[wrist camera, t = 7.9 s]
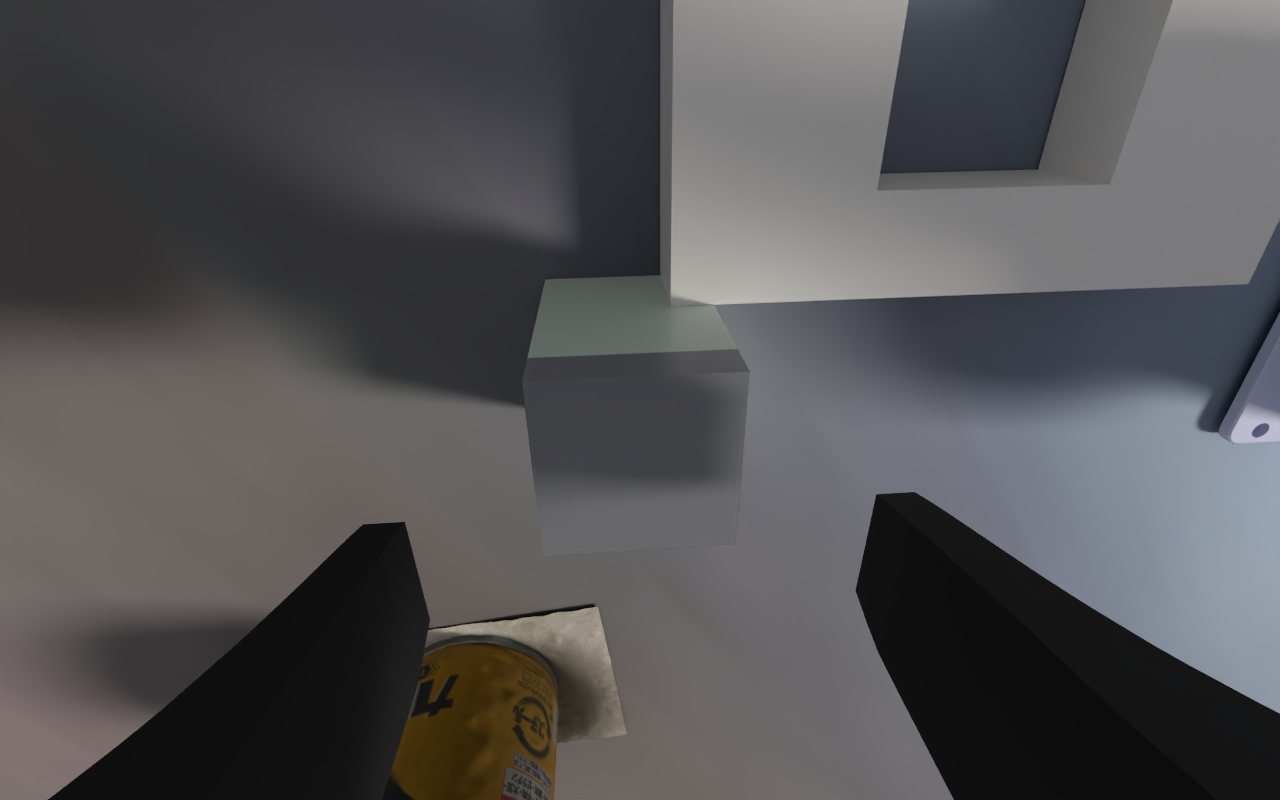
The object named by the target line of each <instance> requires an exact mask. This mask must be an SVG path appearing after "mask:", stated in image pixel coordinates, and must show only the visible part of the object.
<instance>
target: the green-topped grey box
mask: <svg viewBox="0 0 1280 800" xmlns="http://www.w3.org/2000/svg"><path fill="white" fill-rule="evenodd" d="M749 372H750V371H749V370H748V368H747V366H746V364H745V362H744V360H743V358H742V357H741V355H740V353H739V351H738V349H737V347H736V345H735V343H734V342H733V340H732V338H731V336H730V334H729V332H728V330H727V329H726V327H725V325H724V323H723V321H722V319H721V317H720V315H719V314H718V312H717V310H716V308H715V306H714V305H692V306H670V303H669V300H668V298H667V295H666V292H665V289H664V286H663V283H662V280H661V277H660V275H653V276H626V277H598V278H570V279H545V283H544V288H543V292H542V296H541V301H540V305H539V309H538V314H537V318H536V322H535V327H534V331H533V335H532V340H531V344H530V348H529V353H528V357H527V361H526V366H525V370H524V374H523V379H522V388H523V396H524V404H525V412H526V420H527V428H528V437H529V445H530V453H531V461H532V469H533V477H534V485H535V493H536V502H537V510H538V518H539V526H540V534H541V542H542V550H543V556H551V555H567V554H584V553H600V552H616V551H633V550H649V549H665V548H682V547H698V546H714V545H731V544H736V535H737V523H738V510H739V498H740V485H741V473H742V460H743V447H744V435H745V422H746V410H747V397H748V385H749Z"/></svg>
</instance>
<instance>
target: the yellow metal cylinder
mask: <svg viewBox="0 0 1280 800" xmlns="http://www.w3.org/2000/svg"><path fill="white" fill-rule="evenodd" d="M541 647H544V648H546V649H547V651H545V652H544V651H542V650H541ZM551 650H553V651H557V652H558V653H559V655H555V654H552V653H551V652H550V651H551ZM610 659H611V658H610V656H609V652H608V649H607V644H606V639H605V634H604V630H603V627H602V623H601V618H600V614H599V610H598V607H593V608H585V609H581V610H578V611H571V612H557V613H552V614H549V615H546V616H534V617H526V618H520V619H516V620H511V621H509V620H503V621H498V622H488V623H475V624H466V625H459V626H454V627H448V628H441V629H433V630H428V633H427V639H426V645H425V650H424V656H423V661H422V666H421V671H420V676H419V681H418V686H417V689H416V693H415V696H414V699H413V703H412V706H411V709H410V712H409V715H408V719H407V722H406V725H405V728H404V732H403V735H402V738H401V741H400V744H399V748H398V751H397V754H396V757H395V760H394V763H393V766H392V770H391V773H390V776H389V779H388V782H387V785H386V788H385V792H384V795H383V798H382V800H554V783H555V764H556V745H557V743H560V742H568V741H572V740H580V739H604V738H608V737H612V736H619V735H626V728H625V724H624V720H623V714H622V709H621V705H620V700H619V697H618V690H617V686H616V683H615V678H614V674H613V669H612V664H611V661H610Z"/></svg>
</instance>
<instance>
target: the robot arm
mask: <svg viewBox="0 0 1280 800" xmlns="http://www.w3.org/2000/svg"><path fill="white" fill-rule="evenodd" d="M1219 434H1220V436H1221V437H1222V438H1224V439H1226V440H1227V441H1229V442H1231V443H1235V444H1241V443H1260V442H1279V441H1280V312H1279V314H1278V316H1277V318H1276V320H1275V322H1274V324H1273V326H1272V328H1271V330H1270V331H1269V333H1268V335H1267V337H1266V339H1265V341H1264V343H1263V345H1262V347H1261V349H1260V351H1259V353H1258V354H1257V356H1256V358H1255V360H1254V362H1253V364H1252V366H1251V368H1250V370H1249V372H1248V374H1247V376H1246V378H1245V379H1244V381H1243V383H1242V385H1241V387H1240V389H1239V391H1238V393H1237V395H1236V397H1235V399H1234V401H1233V402H1232V404H1231V406H1230V408H1229V410H1228V412H1227V414H1226V416H1225V418H1224V420H1223V422H1222V424H1221V425H1220V429H1219ZM856 593H857V596H858V599H859V601H860V604H861V607H862V610H863V613H864V616H865V619H866V621H867V624H868V627H869V629H870V632H871V635H872V637H873V640H874V642H875V645H876V648H877V650H878V653H879V655H880V657H881V659H882V661H883V663H884V665H885V667H886V669H887V671H888V673H889V675H890V677H891V679H892V681H893V683H894V685H895V687H896V689H897V691H898V693H899V694H900V696H901V698H902V700H903V702H904V704H905V706H906V708H907V710H908V712H909V714H910V716H911V718H912V720H913V722H914V724H915V726H916V727H917V729H918V731H919V733H920V735H921V737H922V739H923V741H924V743H925V745H926V747H927V749H928V751H929V753H930V754H931V756H932V758H933V760H934V762H935V764H936V766H937V768H938V770H939V772H940V774H941V776H942V778H943V780H944V781H945V783H946V785H947V787H948V789H949V791H950V793H951V795H952V797H953V799H954V800H1280V714H1279V713H1277V712H1275V711H1273V710H1271V709H1270V708H1268V707H1266V706H1264V705H1262V704H1260V703H1258V702H1256V701H1254V700H1252V699H1251V698H1249V697H1247V696H1245V695H1243V694H1241V693H1239V692H1237V691H1236V690H1234V689H1232V688H1230V687H1228V686H1226V685H1224V684H1223V683H1221V682H1219V681H1217V680H1215V679H1213V678H1211V677H1210V676H1208V675H1206V674H1204V673H1202V672H1200V671H1198V670H1197V669H1195V668H1193V667H1191V666H1189V665H1187V664H1185V663H1184V662H1182V661H1180V660H1178V659H1177V658H1175V657H1173V656H1171V655H1170V654H1168V653H1166V652H1164V651H1163V650H1161V649H1159V648H1157V647H1156V646H1154V645H1152V644H1150V643H1149V642H1147V641H1145V640H1144V639H1142V638H1140V637H1139V636H1137V635H1135V634H1134V633H1132V632H1130V631H1129V630H1127V629H1126V628H1124V627H1122V626H1121V625H1119V624H1117V623H1116V622H1114V621H1112V620H1111V619H1109V618H1107V617H1106V616H1104V615H1102V614H1101V613H1099V612H1097V611H1096V610H1094V609H1092V608H1091V607H1089V606H1088V605H1086V604H1085V603H1083V602H1081V601H1080V600H1078V599H1077V598H1075V597H1073V596H1072V595H1070V594H1069V593H1067V592H1066V591H1064V590H1062V589H1061V588H1059V587H1058V586H1056V585H1055V584H1053V583H1052V582H1050V581H1049V580H1047V579H1045V578H1044V577H1042V576H1041V575H1039V574H1038V573H1036V572H1035V571H1033V570H1032V569H1030V568H1029V567H1027V566H1026V565H1024V564H1023V563H1021V562H1020V561H1018V560H1017V559H1015V558H1014V557H1012V556H1011V555H1009V554H1008V553H1006V552H1005V551H1003V550H1002V549H1000V548H999V547H997V546H996V545H994V544H993V543H991V542H990V541H988V540H987V539H986V538H984V537H983V536H981V535H980V534H978V533H977V532H975V531H974V530H972V529H971V528H969V527H968V526H966V525H965V524H963V523H962V522H960V521H959V520H957V519H956V518H954V517H953V516H951V515H950V514H948V513H947V512H945V511H944V510H942V509H941V508H939V507H938V506H936V505H935V504H933V503H932V502H930V501H928V500H927V499H925V498H923V497H922V496H920V495H918V494H917V493H915V492H909V493H892V494H876V499H875V503H874V508H873V513H872V517H871V522H870V527H869V531H868V536H867V540H866V545H865V550H864V554H863V559H862V564H861V568H860V573H859V577H858V582H857V587H856ZM429 622H430V618H429V614H428V610H427V606H426V602H425V599H424V595H423V591H422V587H421V583H420V579H419V575H418V571H417V568H416V564H415V560H414V556H413V552H412V548H411V544H410V541H409V537H408V533H407V529H406V525H405V522H398V523H381V524H364V525H362V526H361V527H360V528H359V529H358V530H357V531H355V532H354V533H353V534H352V535H351V536H350V537H349V538H348V539H347V540H346V541H345V542H344V543H343V544H342V545H341V546H340V547H339V548H337V549H336V550H335V551H334V552H333V553H332V554H331V555H330V556H329V557H328V558H327V559H326V560H325V561H324V562H323V563H322V564H321V565H320V566H319V567H318V568H317V569H316V570H315V571H314V572H313V573H312V574H311V575H310V576H309V577H308V578H307V579H306V580H305V581H304V582H303V583H301V584H300V585H299V586H298V587H297V588H296V589H295V590H294V591H293V592H292V593H291V594H290V595H289V596H288V597H287V598H286V599H285V600H284V601H283V602H282V603H280V604H279V605H278V606H277V607H276V608H275V609H274V610H273V611H272V612H271V613H270V614H269V615H268V616H267V617H266V618H265V619H264V620H262V621H261V622H260V623H259V624H258V625H257V626H256V627H255V628H254V629H253V630H252V631H251V632H250V633H249V634H248V635H247V636H245V637H244V638H243V639H242V640H241V641H240V642H239V643H238V644H236V645H235V646H234V647H233V648H232V649H231V650H230V651H228V652H227V653H226V654H225V655H224V656H223V657H222V658H221V659H219V660H218V661H217V662H216V663H215V664H214V665H213V666H211V667H210V668H209V669H208V670H207V671H206V672H205V673H203V674H202V675H201V676H200V677H199V678H198V679H197V680H195V681H194V682H193V683H192V684H191V685H190V686H189V687H187V688H186V689H185V690H184V691H183V692H182V693H181V694H179V695H178V696H177V697H176V698H175V699H174V700H173V701H172V702H170V703H169V704H168V705H167V706H166V707H165V708H163V709H162V710H161V711H160V712H159V713H157V714H156V715H155V716H154V717H153V718H151V719H150V720H149V721H148V722H147V723H145V724H144V725H143V726H142V727H140V728H139V729H138V730H137V731H135V732H134V733H133V734H132V735H131V736H129V737H128V738H127V739H126V740H124V741H123V742H122V743H121V744H119V745H118V746H117V747H116V748H114V749H113V750H112V751H111V752H109V753H108V754H107V755H105V756H104V757H103V758H101V759H100V760H99V761H98V762H96V763H95V764H94V765H92V766H91V767H90V768H89V769H87V770H86V771H85V772H83V773H82V774H81V775H80V776H78V777H77V778H76V779H74V780H73V781H72V782H70V783H69V784H68V785H67V786H65V787H64V788H63V789H61V790H60V791H59V792H58V793H56V794H55V795H54V796H52V797H51V798H50V799H48V800H382V798H383V795H384V792H385V788H386V785H387V782H388V779H389V776H390V773H391V770H392V766H393V763H394V760H395V757H396V754H397V751H398V748H399V744H400V741H401V738H402V735H403V732H404V728H405V725H406V722H407V719H408V715H409V712H410V709H411V706H412V703H413V699H414V696H415V693H416V689H417V686H418V681H419V676H420V671H421V666H422V661H423V656H424V650H425V645H426V639H427V633H428V628H429Z"/></svg>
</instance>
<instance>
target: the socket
mask: <svg viewBox="0 0 1280 800" xmlns="http://www.w3.org/2000/svg"><path fill="white" fill-rule="evenodd" d="M908 2H909V0H660V277H661V280H662V283H663V286H664V289H665V292H666V295H667V298H668V300H669V303H670V306H692V305H718V304H744V303H770V302H796V301H822V300H848V299H875V298H901V297H927V296H953V295H979V294H1005V293H1032V292H1058V291H1084V290H1110V289H1136V288H1162V287H1189V286H1215V285H1241V284H1249V282H1250V280H1251V278H1252V276H1253V274H1254V272H1255V270H1256V268H1257V266H1258V263H1259V261H1260V259H1261V257H1262V255H1263V253H1264V251H1265V249H1266V247H1267V245H1268V243H1269V241H1270V239H1271V237H1272V235H1273V232H1274V230H1275V228H1276V226H1277V224H1278V222H1279V220H1280V0H1086V2H1085V5H1084V9H1083V12H1082V16H1081V19H1080V23H1079V26H1078V30H1077V33H1076V37H1075V40H1074V44H1073V48H1072V51H1071V55H1070V58H1069V62H1068V65H1067V69H1066V72H1065V76H1064V79H1063V83H1062V86H1061V90H1060V93H1059V97H1058V100H1057V104H1056V107H1055V111H1054V114H1053V118H1052V121H1051V125H1050V128H1049V132H1048V135H1047V139H1046V142H1045V146H1044V150H1043V153H1042V157H1041V160H1040V164H1039V167H1038V170H1000V171H962V172H925V173H887V174H880V170H881V164H882V158H883V152H884V146H885V140H886V134H887V128H888V122H889V116H890V110H891V104H892V98H893V92H894V86H895V80H896V74H897V68H898V62H899V56H900V50H901V44H902V38H903V32H904V26H905V20H906V14H907V8H908Z"/></svg>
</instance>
